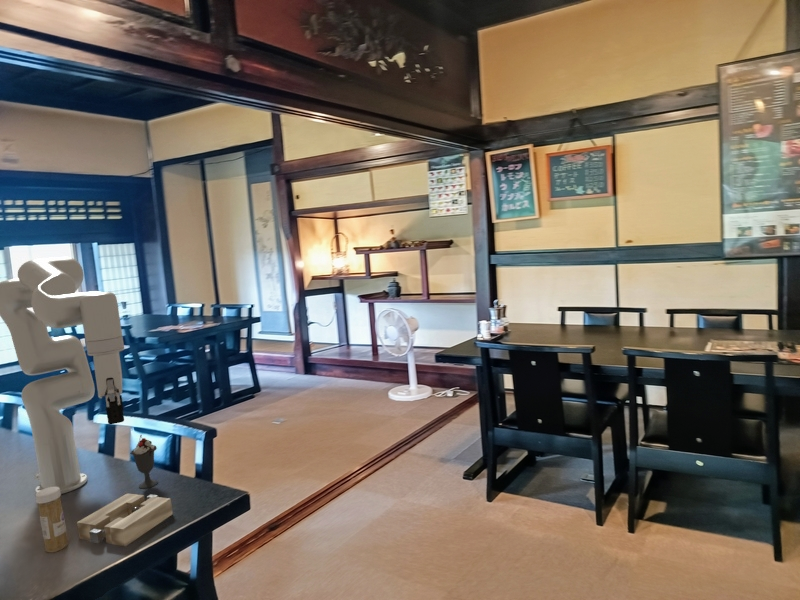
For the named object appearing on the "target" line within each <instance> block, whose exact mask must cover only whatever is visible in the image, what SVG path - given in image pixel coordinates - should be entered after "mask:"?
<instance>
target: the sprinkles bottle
mask: <svg viewBox="0 0 800 600" xmlns="http://www.w3.org/2000/svg"><path fill="white" fill-rule="evenodd" d="M61 495H62V494H61V493H60V488H59V487H49V488H45V489H43V490H40V491H39V492H37V493H36V492H35V501H36V504H37V506H38V507H37V508H38V513H39V521H40V526H41V527H40V528H41V532H42V538H43V540H44V545H45V549H44V550H45V552H46V553H51V554H52V553H56V552H60V551H61V550H63V549H64V548H66V547H67V546H68V545H69V544H70V543H69V539H68V535H67V527H66V521H65V517H64V510H63V506H62V501H61V500H62V499H61V497H62V496H61Z"/></svg>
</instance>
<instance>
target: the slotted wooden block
mask: <svg viewBox="0 0 800 600" xmlns="http://www.w3.org/2000/svg"><path fill="white" fill-rule="evenodd" d="M140 506H141V508H140V509H138V510H137V511H135V512H133V513H132V509H133V508H134V507H140ZM173 513H174V511H173V506H172V500H171V498H170V497H168V498H167V497H161V496H160V497H159V496H158V497H151V498H149V499H148V500H147V499H145V495H144V494H135V493H126V494H124V495H122V496H120V497H119V498H117V499H115V500H113V501H112V502H109V503H108V504H106V505H105V506H102V507H101V508H99V509H97V510H96V511H94V512H93V513H90V514H89V515H88V516H85V517H83V518H82V519H81V520H79V521H77V522H76V525H77V530H78V537H79V539H80V540H84V541H90V542H91V539H90V533H89V532H90V531H91V530H93V529H98V530H103V529H105V533H104V534H103V539H104V538H105V540H106V544H108V545H113V546H114V545H115V546H120V547H121V546H122V547H127V546H128V545H130V544H131V543H133V542H134V541H136V540H137V539H138V538H140V537H141V536H143V535H144V534H146V533H147V532H149V531H150V530H152V529H154V527H156V526H157V525H159V524H160V523H162V522H164V521H165V520H166V519H168V518H170V516H172V515H173ZM113 520H114V521H113Z"/></svg>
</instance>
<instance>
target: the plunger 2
mask: <svg viewBox="0 0 800 600" xmlns="http://www.w3.org/2000/svg"><path fill="white" fill-rule="evenodd" d="M151 497H159V495H157V494H149V495H147V496H146V500H148V499H149V498H151ZM140 508H141V506H140V507H134V508H133V509H132V513H133V512H135V511H137V510H138V509H140Z"/></svg>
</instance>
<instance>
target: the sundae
mask: <svg viewBox="0 0 800 600" xmlns="http://www.w3.org/2000/svg"><path fill="white" fill-rule="evenodd" d="M139 439H140V440H139V441H138V442H137V444H136V447H135V448H134V449H132V450H131V451H130V453H129V455H132V456H133V459H134V462H135V465H136V468H137V471H138V472H139V473H142V474H144V481H143V482H141V483H140V484H139V485H138V489H141V490H142V489H143V490H147V489H150V488H154V487H156V485H158V483H159V481H158V480H156V479H151V477H150V472H151V471H152V470H153V468H154V466H155V451H156V450H157V449H158V448H157V446H156V445H154V444H152V441H151V440H149V439H146V438H145V437H142V434H140V435H139Z"/></svg>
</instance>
